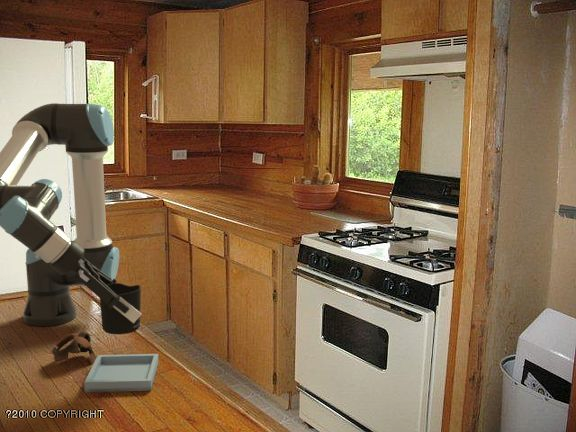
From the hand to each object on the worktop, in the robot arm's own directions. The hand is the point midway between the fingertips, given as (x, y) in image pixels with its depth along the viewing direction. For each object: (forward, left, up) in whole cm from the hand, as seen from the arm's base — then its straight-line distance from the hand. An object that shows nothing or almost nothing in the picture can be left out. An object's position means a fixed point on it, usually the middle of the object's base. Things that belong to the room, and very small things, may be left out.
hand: (134, 311), depth 144 cm
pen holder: (+1, -3, -4) cm, 5 cm away
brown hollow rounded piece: (-10, -16, -17) cm, 25 cm away
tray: (+1, -3, -16) cm, 17 cm away
